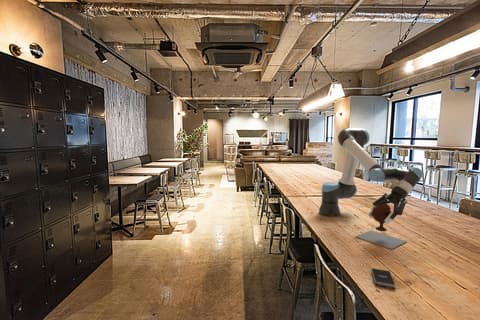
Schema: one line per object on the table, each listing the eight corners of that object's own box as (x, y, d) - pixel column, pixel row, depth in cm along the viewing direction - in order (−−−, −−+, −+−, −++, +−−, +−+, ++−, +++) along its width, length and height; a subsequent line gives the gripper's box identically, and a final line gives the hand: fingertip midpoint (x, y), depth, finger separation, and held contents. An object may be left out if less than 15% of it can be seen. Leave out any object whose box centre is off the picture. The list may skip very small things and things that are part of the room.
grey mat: (355, 237, 147) (355, 236, 147) (370, 231, 156) (370, 230, 156) (391, 250, 130) (392, 248, 130) (406, 242, 140) (407, 241, 140)
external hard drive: (374, 286, 99) (375, 281, 99) (371, 272, 110) (371, 267, 109) (395, 290, 97) (395, 285, 97) (389, 275, 107) (389, 270, 107)
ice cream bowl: (389, 227, 146) (390, 201, 145) (394, 234, 136) (395, 206, 134) (369, 225, 150) (370, 200, 148) (372, 231, 139) (373, 205, 138)
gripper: (381, 182, 154) (358, 209, 152) (417, 189, 132) (391, 221, 129) (388, 190, 156) (365, 217, 154) (424, 199, 134) (399, 230, 131)
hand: (377, 219), depth 141 cm, fingers closed on ice cream bowl, 11 cm apart
